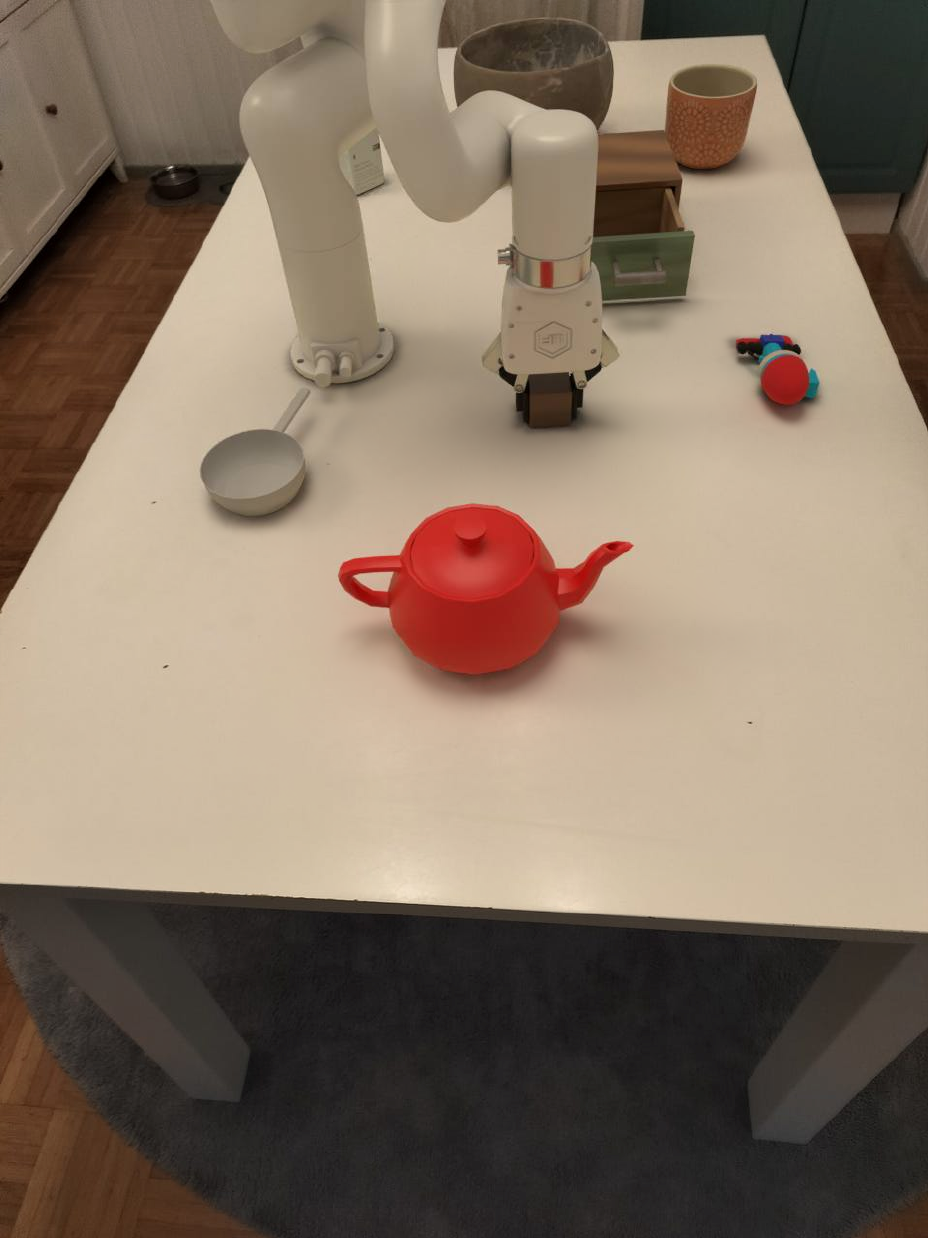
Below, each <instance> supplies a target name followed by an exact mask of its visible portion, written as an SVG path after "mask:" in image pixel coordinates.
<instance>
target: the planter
mask: <svg viewBox="0 0 928 1238" xmlns="http://www.w3.org/2000/svg"><path fill="white" fill-rule="evenodd" d="M757 89H758V78H757V77H756V76H755V74H753V73H752V72H751V71H749V70H747V69H745V68H742V67H739V66H735V65H730V64H724V63H723V64H722V63H705V64H695V65H691V66H687V67H684V68H681V69H679V70H677V71H675V72H674V73H673V74H672V75H671V76H670V78H669V82H668V87H667V95H666V106H665V107H666V108H665V109H666V110H665V123H664V131H665V134H666V137H667V139H668V142H669V145H670V147H671V150H672V152H673V155H674V158H675V160H676V163H677V164H680V165H681V166H683V167H686V168H689V169H693V170H712V169H717V168H720V167H722V166H724V165H726V164H727V163H729V162H731V161H732V160H733V159H734V158H735V157H737V156H738V154H739V153H740V152H741V151H742V149H743V147H744V145H745V142H746V140H747V139H746V138H747V135H748V132H749V126H750V122H751V117H752V114H753V113H752V112H753V108H754V104H755V99H756V95H757Z"/></svg>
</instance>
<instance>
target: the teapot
mask: <svg viewBox="0 0 928 1238" xmlns="http://www.w3.org/2000/svg"><path fill="white" fill-rule="evenodd" d="M633 547H634V544H633V543H631V542H630V541H624V540H615V541H610V542H605V543H602V544H601V545H599V546H598V547H597V548H596V549H594V550H592V551H591V552H590V553H589V554H588V556H587V557H586V559H584V560H583V561H582V562H580V563H579V564H578V565H576V566H575V567H573V568H572V567H569V568H567V567H566V568H565V567H564V568H563V567H562V568H557V567H556V564H555V560H554V558H553V556H552V555H551V553H550V551H549V550H548V548H547V546H546V545H545V542H544V541H543V539H542V538H541V537H540V536H539V535H538V533H537V532H536V530H535V529H533V528H532V526H531V525H529V523H528V522H526V520H524V518H523V517H521V516H520V515H519V514H517V513H515V512H513V511H510V510H508V509H506V508H504V507H502V506H499V505H493V504H482V503H467V504H460V505H455V506H449V507H446V508H443V509H442V510H439V511H438V512H436V513H434V514H431V515H430V516H427V517H425V519H423V520H422V522H421V523H420V524H418V525H417V526H416V528H415V529H414V530H413V531H412V532H411V533H410V535H409V536H408V538H407V540H406V542H405V543H404V545H403V547H402V549H401V551H400V553H399V554H391V555H373V556H372V555H371V556H363V557H354V558H351V559H349V560H345V561H343V562H342V563H341V565H340V567H339V569H338V570H339V571H338V574H337V578H338V582H339V583H340V585H341V587H342V589H343V591H344V592H346V593H347V594H348V595H350V596H351V597H352V598H353V599H355V601H358V602H361V603H363V604H364V605H367V606H369V607H371V608H372V607H373V608H384V609H385V608H386V609H389V611H388V612H389V618H390V622H391V625H392V626H391V627H392V629H393V630H394V631H395V633H396V634H397V636H398V638H400V640H401V641H402V642H403V643H404V645H405V646H406V647H407V649H408V650H409V651H410V652H411V654H412V655H413V656H414V657H416V658H417V659H420V660H421V661H423V662H425V663H427V664H429V665H430V666H432V667H435V668H436V669H438V670H440V671H446V672H452V673H460V674H465V675H475V676H478V675H483V674H487V673H493V672H499V671H502V670H503V671H504V670H510V669H512V668H514V667H516V666H518V665H519V664H521V663H523V662H524V661H526V660H528V659H529V658H531V657H533V656H535V655H536V654H538V653H539V652H540V651H541V650H542V649H543V646H544V645H545V644H546V642H547V641H548V640H549V638H550V637H551V635H552V634H553V632H554V631H555V630H556V628H557V627H558V625H559V623H560V612H561V611H564V610H567V609H570V608H573V607H575V606H578V605H581V604H583V602H584V601H585V600H586V598H587V597H588V596H589V594H590V593H591V592H592V591H593V589H594V588H595V587H596V584H597V583H598V580H599V578H600V577H601V574H602V572H603V570H604V568H605V567H607V566H608V565H610V564H611V563H613V562H614V561H615V560H616V559H617V558H619V557H621V556H623V554H625V553H628V552H630V551H631V550H632V548H633ZM373 573H374V574H375V573H392V575H391V578H390V581H389V584H388V589H387V590H386V591H385V590H374V589H372V588H370V587H368V586H367V585H365V584H363V583H361V581H359V580H358V579H357V578H356V577H355V576H358V575H362V574H363V575H364V574H373Z"/></svg>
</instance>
